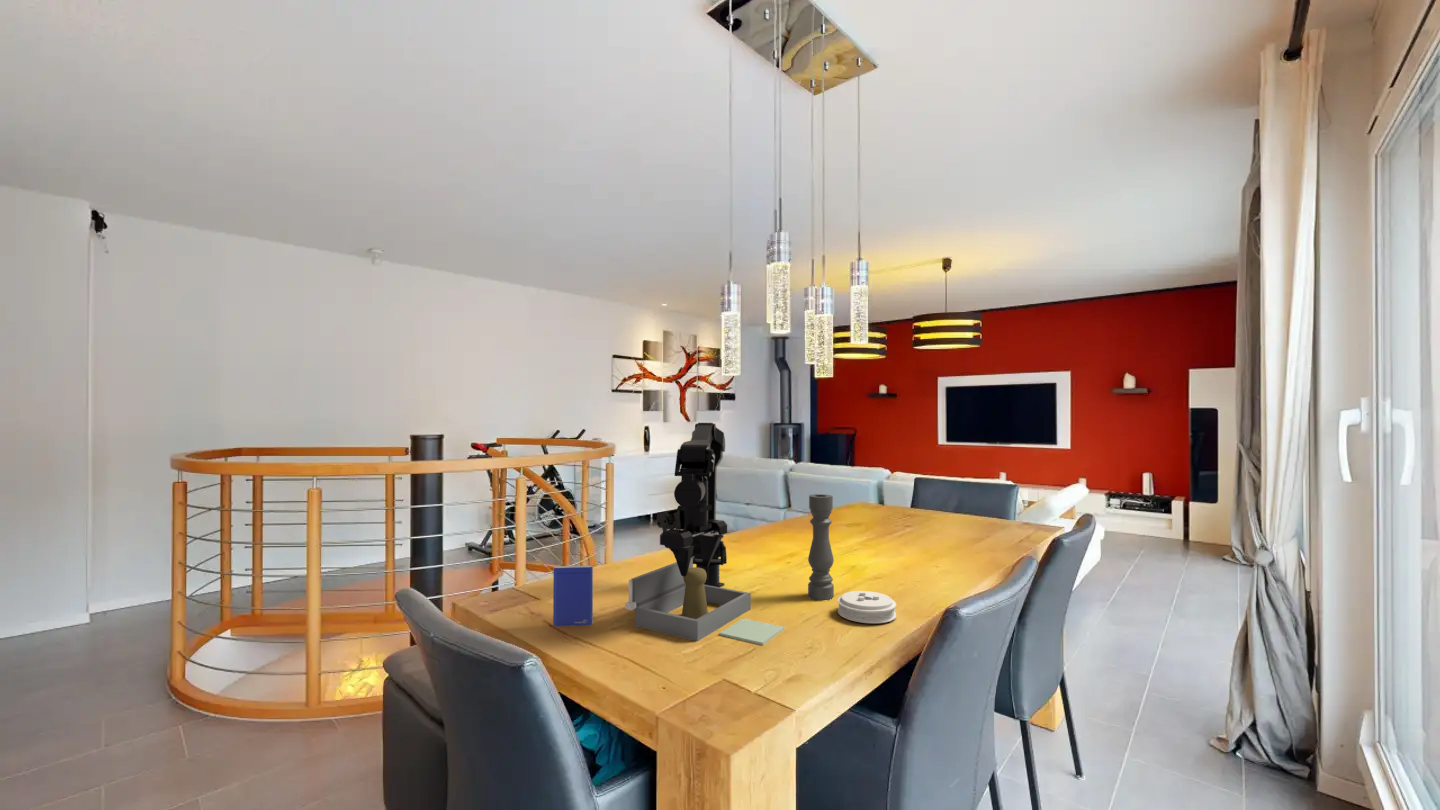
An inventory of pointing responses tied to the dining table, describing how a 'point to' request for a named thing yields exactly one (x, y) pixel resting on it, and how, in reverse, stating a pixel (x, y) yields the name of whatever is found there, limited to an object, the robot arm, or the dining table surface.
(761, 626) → the mat
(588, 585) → the hard drive
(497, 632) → the dining table surface
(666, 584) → the equipment case
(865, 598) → the lid
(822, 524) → the candle holder
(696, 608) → the olive brown pawn
